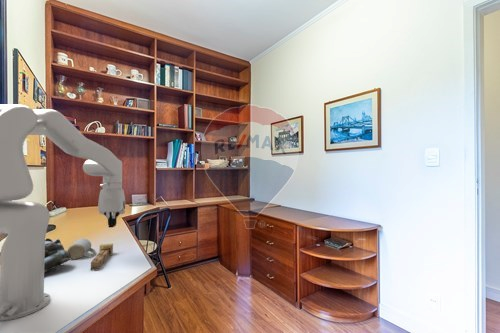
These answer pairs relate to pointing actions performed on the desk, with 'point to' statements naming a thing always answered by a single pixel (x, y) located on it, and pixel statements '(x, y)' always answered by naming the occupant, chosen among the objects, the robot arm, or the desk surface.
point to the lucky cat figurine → (54, 254)
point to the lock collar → (106, 246)
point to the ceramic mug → (81, 249)
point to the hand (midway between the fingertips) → (112, 226)
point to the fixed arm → (96, 259)
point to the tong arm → (101, 259)
